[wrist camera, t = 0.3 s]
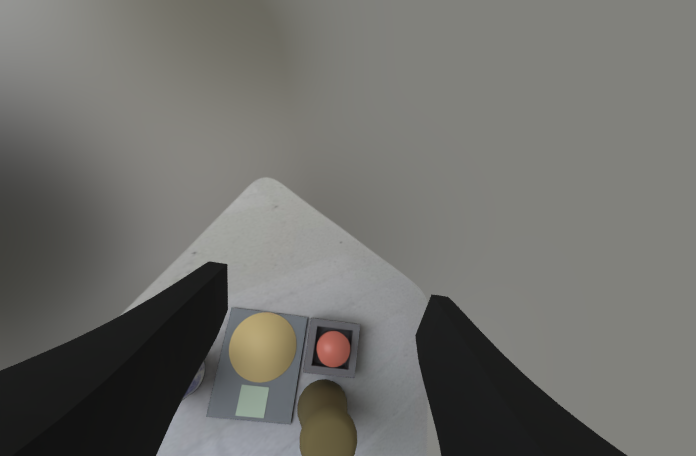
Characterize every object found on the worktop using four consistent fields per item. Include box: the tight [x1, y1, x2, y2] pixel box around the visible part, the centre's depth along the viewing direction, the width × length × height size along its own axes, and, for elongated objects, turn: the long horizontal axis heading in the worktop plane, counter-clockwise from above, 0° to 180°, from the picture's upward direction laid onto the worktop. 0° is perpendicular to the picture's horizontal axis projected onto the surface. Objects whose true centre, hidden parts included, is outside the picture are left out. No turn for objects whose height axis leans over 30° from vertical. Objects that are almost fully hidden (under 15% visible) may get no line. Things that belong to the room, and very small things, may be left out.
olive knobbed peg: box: [298, 380, 357, 456], centre depth 30 cm, size 6×6×11 cm
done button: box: [316, 330, 350, 367], centre depth 35 cm, size 4×4×2 cm
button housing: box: [303, 318, 360, 378], centre depth 36 cm, size 6×6×3 cm
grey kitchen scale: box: [206, 308, 307, 424], centre depth 36 cm, size 12×10×1 cm
